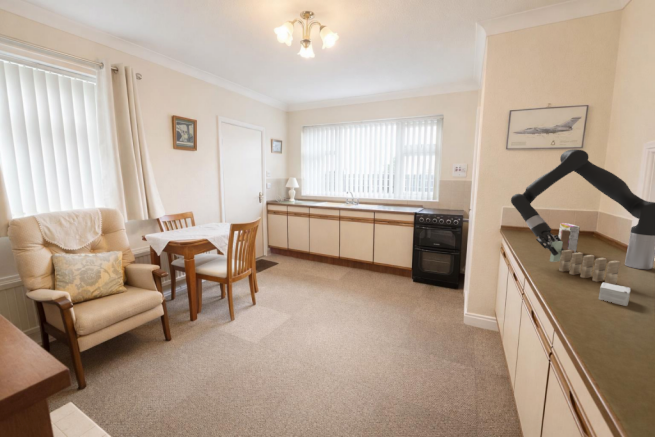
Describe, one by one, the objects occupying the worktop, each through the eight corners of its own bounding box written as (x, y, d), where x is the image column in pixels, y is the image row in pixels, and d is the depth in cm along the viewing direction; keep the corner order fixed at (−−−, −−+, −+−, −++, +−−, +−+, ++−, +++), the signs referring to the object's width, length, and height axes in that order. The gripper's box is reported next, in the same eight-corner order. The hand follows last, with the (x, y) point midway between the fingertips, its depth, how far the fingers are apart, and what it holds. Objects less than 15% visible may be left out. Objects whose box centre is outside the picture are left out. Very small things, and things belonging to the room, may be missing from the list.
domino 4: (580, 276, 132) (583, 255, 130) (586, 275, 134) (590, 254, 132) (584, 278, 131) (587, 256, 129) (591, 276, 132) (594, 255, 131)
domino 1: (549, 261, 144) (552, 241, 142) (556, 260, 146) (559, 241, 144) (553, 262, 142) (556, 242, 141) (559, 261, 144) (562, 241, 142)
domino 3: (569, 273, 136) (572, 253, 135) (575, 272, 138) (579, 252, 136) (573, 274, 135) (576, 254, 133) (580, 273, 136) (583, 253, 135)
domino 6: (604, 284, 124) (608, 261, 122) (611, 282, 125) (615, 260, 124) (609, 285, 122) (613, 262, 121) (616, 284, 124) (620, 261, 122)
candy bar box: (556, 248, 181) (559, 222, 178) (565, 248, 180) (568, 223, 177) (566, 253, 170) (570, 226, 168) (576, 253, 169) (580, 226, 167)
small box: (600, 294, 114) (602, 281, 113) (628, 300, 108) (631, 287, 107) (597, 299, 109) (599, 286, 108) (627, 307, 103) (629, 293, 102)
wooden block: (558, 256, 165) (562, 230, 162) (558, 254, 167) (561, 229, 165) (573, 257, 161) (577, 231, 159) (572, 256, 164) (576, 230, 162)
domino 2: (558, 270, 140) (561, 250, 139) (565, 269, 142) (568, 249, 140) (562, 271, 139) (565, 251, 137) (569, 270, 141) (572, 250, 139)
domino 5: (592, 280, 128) (595, 258, 126) (598, 279, 130) (602, 257, 128) (596, 281, 126) (600, 259, 125) (603, 280, 128) (607, 258, 126)
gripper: (534, 222, 145) (557, 251, 136) (553, 221, 150) (576, 249, 141) (523, 230, 151) (543, 259, 142) (541, 229, 156) (562, 256, 147)
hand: (559, 254), depth 142 cm, fingers closed on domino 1, 5 cm apart
